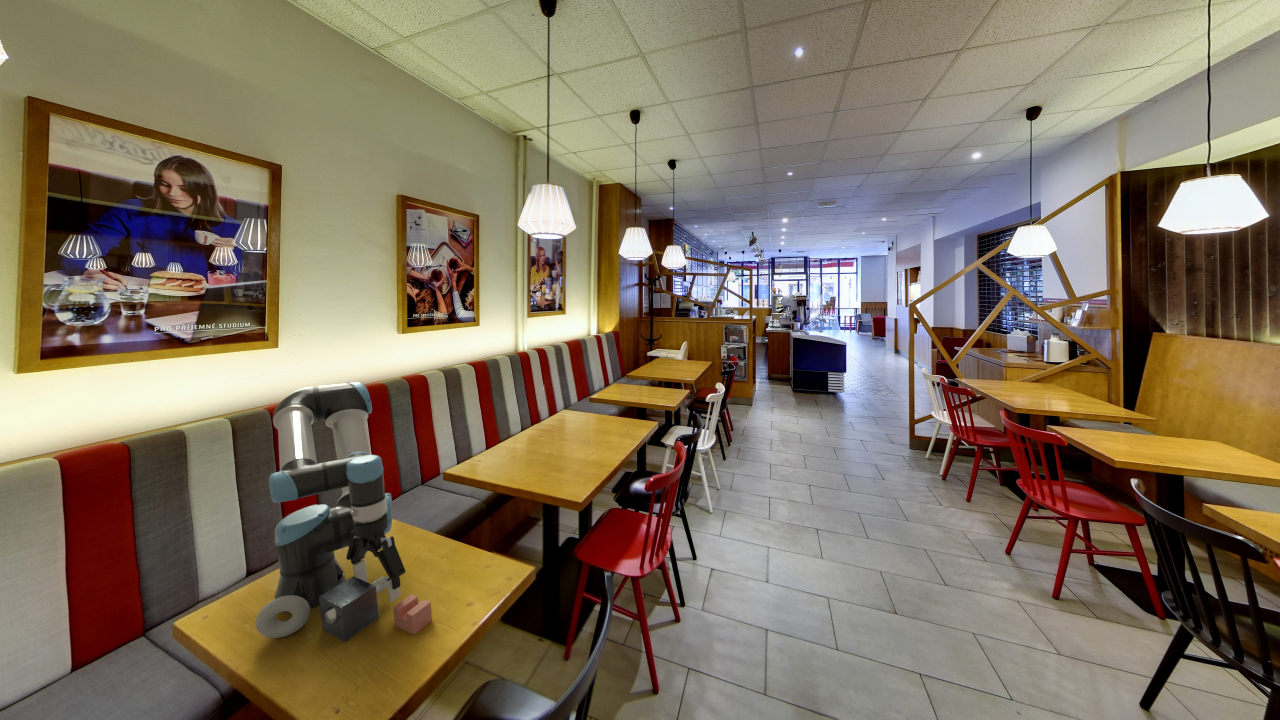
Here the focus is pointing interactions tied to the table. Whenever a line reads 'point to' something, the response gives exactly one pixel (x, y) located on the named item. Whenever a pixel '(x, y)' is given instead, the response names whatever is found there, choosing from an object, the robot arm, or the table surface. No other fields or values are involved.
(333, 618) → the axle
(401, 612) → the v block
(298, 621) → the donut
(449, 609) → the table surface
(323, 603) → the block with square hole
